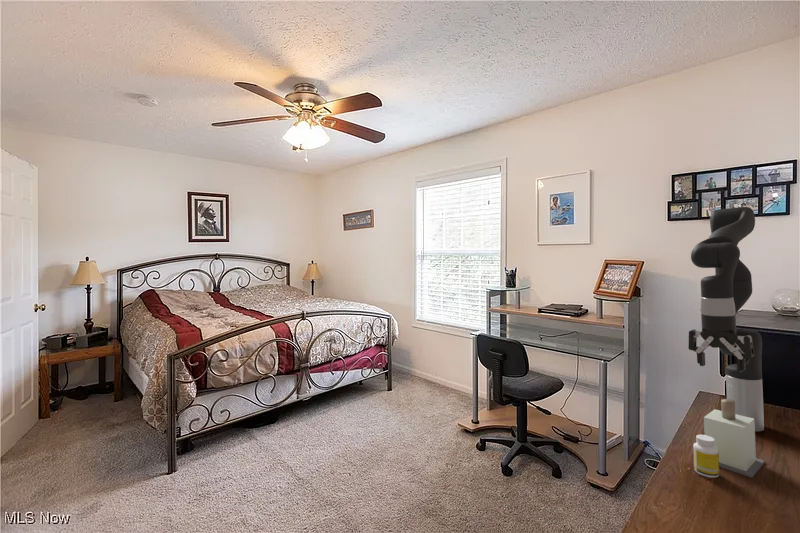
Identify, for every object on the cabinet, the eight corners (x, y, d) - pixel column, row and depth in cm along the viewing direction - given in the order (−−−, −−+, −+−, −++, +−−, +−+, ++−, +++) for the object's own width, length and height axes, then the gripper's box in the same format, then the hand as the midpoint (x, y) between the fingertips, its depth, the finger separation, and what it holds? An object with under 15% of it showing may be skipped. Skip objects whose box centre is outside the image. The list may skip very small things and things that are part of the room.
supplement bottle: (724, 479, 100) (722, 442, 99) (701, 477, 101) (699, 441, 101) (711, 468, 105) (710, 433, 105) (689, 466, 106) (688, 432, 106)
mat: (712, 446, 116) (711, 444, 116) (764, 462, 106) (764, 460, 106) (697, 459, 109) (697, 457, 109) (752, 478, 99) (751, 475, 99)
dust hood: (716, 448, 114) (714, 393, 114) (755, 460, 107) (753, 401, 106) (705, 457, 109) (703, 400, 109) (746, 471, 102) (743, 409, 101)
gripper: (755, 312, 103) (758, 370, 103) (693, 308, 115) (695, 360, 115) (746, 317, 99) (749, 377, 99) (683, 312, 110) (685, 366, 111)
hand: (720, 368), depth 107 cm, fingers open, 8 cm apart
